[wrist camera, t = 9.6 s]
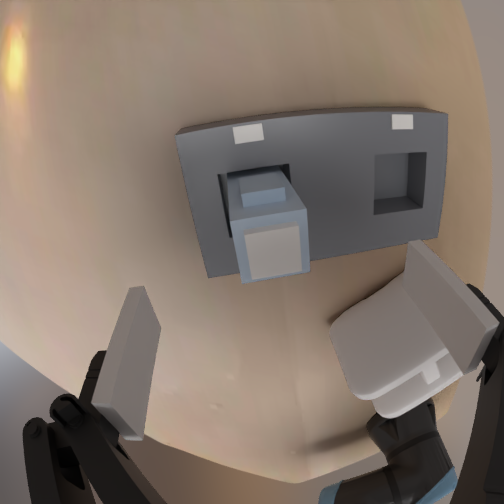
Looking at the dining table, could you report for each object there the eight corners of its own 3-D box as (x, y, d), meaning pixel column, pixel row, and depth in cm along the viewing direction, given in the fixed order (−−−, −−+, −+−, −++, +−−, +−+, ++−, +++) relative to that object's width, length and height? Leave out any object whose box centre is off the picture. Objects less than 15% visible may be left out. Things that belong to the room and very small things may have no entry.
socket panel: (419, 221, 29) (438, 238, 26) (209, 256, 29) (208, 279, 26) (425, 108, 23) (449, 114, 20) (180, 128, 23) (174, 135, 19)
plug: (280, 206, 26) (312, 277, 17) (234, 214, 26) (242, 290, 17) (274, 152, 24) (308, 198, 15) (224, 160, 24) (227, 211, 15)
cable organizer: (428, 248, 31) (488, 313, 21) (444, 299, 36) (489, 359, 26) (323, 320, 35) (353, 402, 25) (356, 358, 39) (384, 427, 29)
